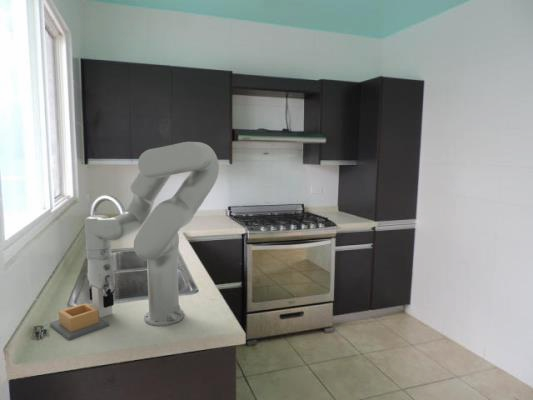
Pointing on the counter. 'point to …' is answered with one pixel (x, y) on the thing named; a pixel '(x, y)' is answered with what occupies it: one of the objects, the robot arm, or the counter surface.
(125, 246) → the counter surface
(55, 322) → the socket block
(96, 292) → the white plug
